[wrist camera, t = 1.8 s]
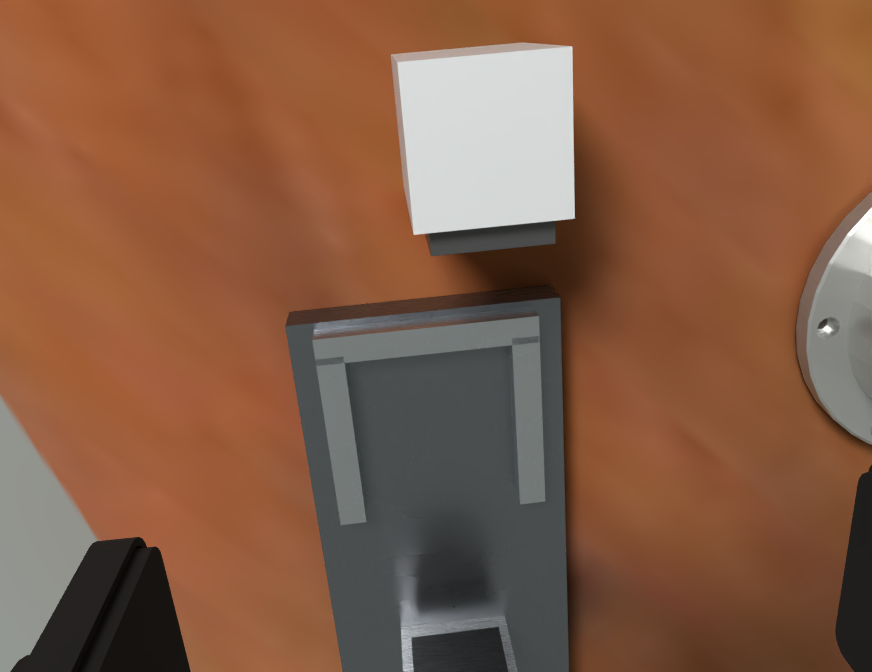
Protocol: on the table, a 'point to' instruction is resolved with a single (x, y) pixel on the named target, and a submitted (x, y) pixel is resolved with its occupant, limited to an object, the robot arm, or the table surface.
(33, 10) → the table surface
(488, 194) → the block
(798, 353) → the robot arm
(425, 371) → the rail
